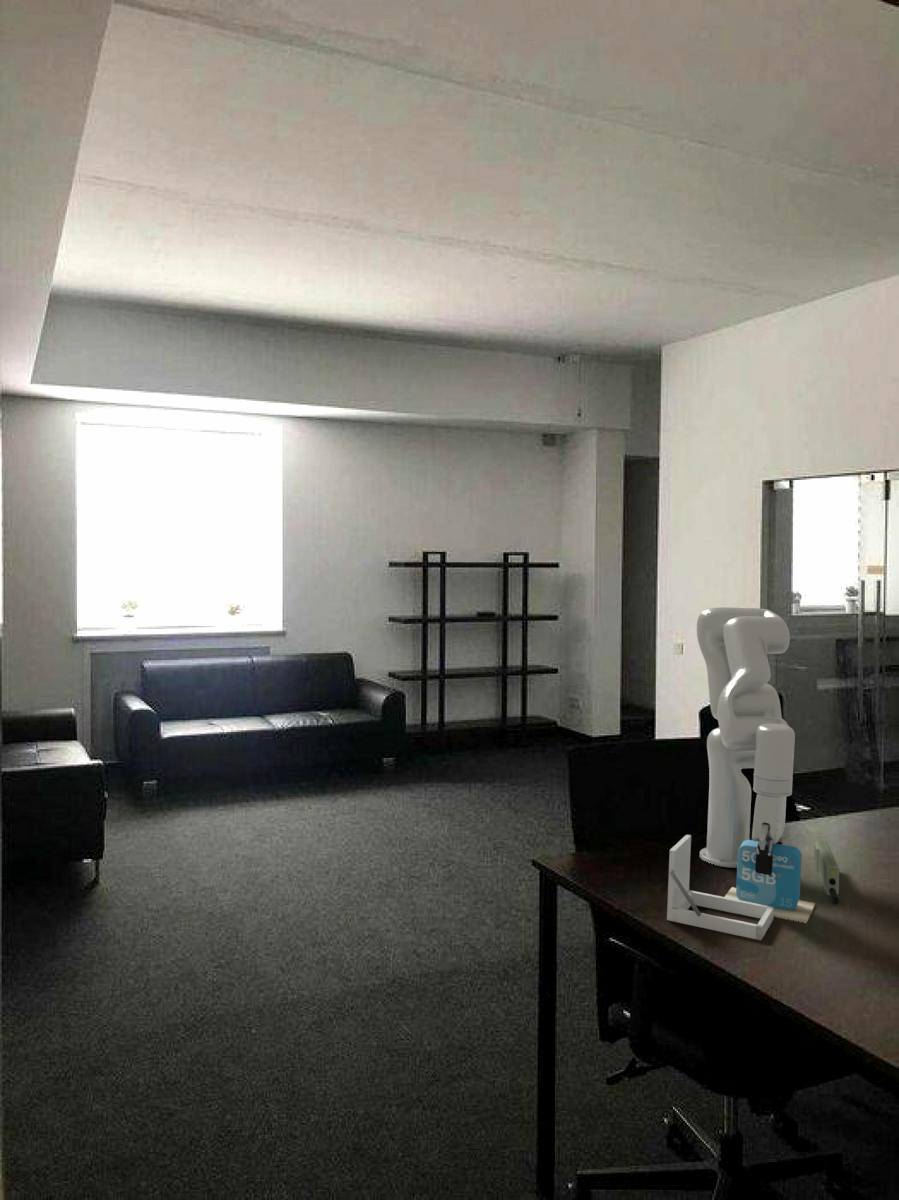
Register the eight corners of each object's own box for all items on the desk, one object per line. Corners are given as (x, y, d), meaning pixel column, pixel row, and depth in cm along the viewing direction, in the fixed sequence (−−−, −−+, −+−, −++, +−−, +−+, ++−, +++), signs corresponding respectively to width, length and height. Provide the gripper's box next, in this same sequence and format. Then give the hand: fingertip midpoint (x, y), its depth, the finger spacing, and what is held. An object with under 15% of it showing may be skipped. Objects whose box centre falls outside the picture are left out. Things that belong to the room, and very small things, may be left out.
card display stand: (683, 900, 200) (686, 834, 199) (773, 919, 191) (776, 850, 190) (665, 921, 188) (668, 851, 187) (760, 942, 180) (763, 868, 179)
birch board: (731, 889, 207) (731, 887, 207) (815, 905, 199) (815, 903, 199) (719, 905, 197) (719, 903, 197) (806, 923, 189) (806, 920, 189)
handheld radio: (828, 868, 223) (844, 906, 199) (813, 867, 224) (827, 905, 200) (828, 839, 223) (845, 875, 199) (813, 839, 224) (828, 874, 200)
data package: (735, 901, 199) (738, 844, 198) (739, 894, 203) (741, 838, 202) (796, 912, 194) (799, 853, 193) (799, 904, 198) (802, 847, 197)
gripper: (762, 773, 206) (758, 850, 208) (744, 791, 191) (740, 875, 192) (799, 778, 203) (794, 857, 204) (784, 798, 187) (779, 883, 189)
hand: (768, 866), depth 198 cm, fingers open, 9 cm apart
